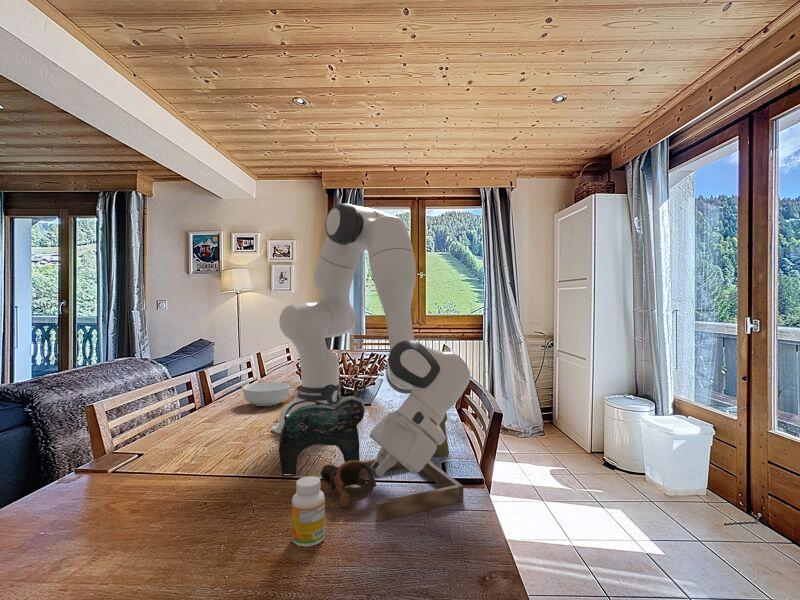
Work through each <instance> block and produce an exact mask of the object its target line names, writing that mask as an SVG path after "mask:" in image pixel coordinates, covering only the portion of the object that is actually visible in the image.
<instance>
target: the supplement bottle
mask: <svg viewBox="0 0 800 600" xmlns="http://www.w3.org/2000/svg"><path fill="white" fill-rule="evenodd" d="M321 485H322V483H321V479H320V477H317V476H304V477H301V478H299V479H297V480H296V483H295V488H296V489H295V492H296V493H294V494H293V496H292V499H291V521H292V522H291V531H292V532H291V533H292V542H293V543H294V544H295V545H297V546H299V547H301V546H303V548H306V547H307V548H308V547H309V548H310V547H314V546H317V545H318V544H320V543H321V542H323V540H324V539H325V537H326V512H325V511H326V510H325V509H326V508H325V506H326V504H325V503H326V499H325V494H324V491H322V490H321Z"/></svg>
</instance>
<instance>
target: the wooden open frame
mask: <svg viewBox="0 0 800 600" xmlns="http://www.w3.org/2000/svg"><path fill="white" fill-rule="evenodd" d="M375 459H376V457H375V458H370V459H363V460H361V461H362V462H365V463H366V464H368V465H369V466H370V467H371V465H372V464H373V463H374V461H375ZM405 468H406V467H404V466H403V465H402V464H401V463H400V462H399V461H397V463H396V464H395V465H394V466H393V467H391V468H390V469H388V470H386V471H385V472H389V471H395V470H399V469H405ZM406 469H407V468H406ZM372 471H373V470H372ZM420 472H422V473H423V474H424V475H425V476H427V477H428V478H429V479H430V480H432V481H433V482H434V483H435V484H436V485H437V486H439V487H440V488H436V489H431V490H428V491H422V492H417V493H412V494H407V495H403V496H399V497H394V498H390V499H385V500H381V501H376V502H375V507H376V508H375V509H376V510H375V513H376V514H375V517H376V518H375V519H376V520H377V522H380V521H385V520H388V519H393V518H397V517H402V516H405V515H406V516H407V515H411V514H414V513H415V514H416V513H419V512H424V511H427V510H431V509H436V508H439V507H444V506H449V505H453V504H457V503H461V502H464V485H463V484H462V483H460V482H459V481H457V480H456V479H455V478H453V477H452V476H450V475H449V474H448V473H447V472H445V471H444V470H443V469H441V467H438V466H437V465H435V464H434V463H433V462H432V461H430V460H429V461H428V463H427V464H426V465H425V466H424V468H423V469H422V470H421V471H420ZM373 473H374V474H376V473H375V472H374V471H373ZM359 475H360V476H361V477H363V476H366V475H367V476H369V473H368V471H367V470H366V469H365V468H364V469H362V470H360V472H359Z"/></svg>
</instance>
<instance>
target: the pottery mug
mask: <svg viewBox="0 0 800 600" xmlns="http://www.w3.org/2000/svg"><path fill="white" fill-rule="evenodd" d="M362 461H363V460H359V461H358V460H353V461H352V460H350V461H347V462H345V461H344V462H343V463H342V464H341V465H339V467H338V466H336V465H333V464H325V465H324V466H322V469H321V471H320V472H319V473H320V476H321V478H322V480H323V481H324V483H325V484H326V485H328V486H329V488H330V491H331V493H334V491H335V490H337V492H338V493H339V494H340V496H339V499H338V505H340V506H341V507H343V509H344V508H347V506H349V504H350V505H351V504H354V503H357V502H360V501H363V500H364V499H366V498H368V496H369V495H371V494H372V492H373V490H374V488H375V487H378V486H377V483H376V480H375V478H374V476H375V473H373V471H372V468H371V467H370V466H369V465H368V464H366V463H365V462H362ZM364 468H365V469H366V470H367V471H368V473H369V474H368V476H369V477H368V480H367V479H366V478H364V477H363V476H360V475H359V472H360V470H362V469H364ZM353 485H354V486H357V487H352V486H353ZM345 487H348V490H346V489H345Z"/></svg>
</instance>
